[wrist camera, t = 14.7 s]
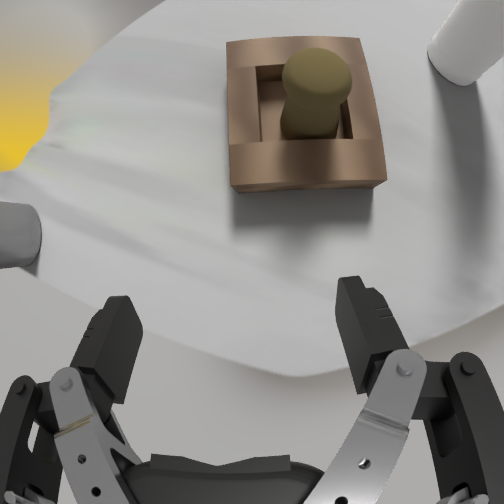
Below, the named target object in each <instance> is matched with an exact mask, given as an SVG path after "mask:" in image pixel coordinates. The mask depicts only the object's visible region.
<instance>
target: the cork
mask: <svg viewBox="0 0 504 504" xmlns="http://www.w3.org/2000/svg"><path fill="white" fill-rule="evenodd" d="M282 80H283V87H284V89H285V91H286V92H287V96H286V100H285V103H284V107H283V110H282V114H281V118H280V126H281V130H282V132H283V134H284V136H285V137H286V138H287V139H288V140H309V139H334V138H335V136H336V135H337V131H338V125H339V113H340V104H342V103H343V102H344V101H345V100H346V99H347V97H348V95H349V94H350V92H351V88H352V75H351V71H350V69H349V67H348V65H347V64H346V62H345V61H344V60H343V59H342V58H341V57H339V56H338V55H337V54H336V53H334V52H332V51H330V50H327V49H323V48H306V49H303V50H300V51H298V52H296V53H295V54H293V55H292V56H290V58H289V59H288V60H287V62H286V63H285V65H284V68H283V72H282Z"/></svg>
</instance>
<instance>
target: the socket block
mask: <svg viewBox="0 0 504 504" xmlns="http://www.w3.org/2000/svg"><path fill="white" fill-rule="evenodd" d="M306 48H323V49H327V50H330V51H332V52H334V53H336V54H337V55H338V56H339V57H341V58H342V59H343V60H344V61H345V62H346V64H347V65H348V67H349V69H350V71H351V75H352V88H351V92H350V94H349V95H348V97H347V99H346V100H345V101H344V102H343V103H342V104H340V113H339V125H338V131H337V135H336V136H335V138H334V139H309V140H288V139H287V138H286V137H285V136H284V134H283V132H282V130H281V126H280V118H281V114H282V110H283V107H284V103H285V100H286V96H287V92H286V91H285V89H284V87H283V80H282V72H283V68H284V65H285V63H286V62H287V60H288V59H289V58H290V56H292V55H293V54H295V53H296V52H298V51H300V50H303V49H306ZM226 52H227V96H228V129H229V157H230V182H231V186H232V187H233V188H234V189H235V190H236V191H237V192H238V193H246V192H261V191H278V190H299V189H327V188H374V187H376V186H378V185H379V184H381V183H383V182H385V181H386V180H387V171H386V163H385V156H384V149H383V142H382V135H381V129H380V124H379V118H378V113H377V108H376V103H375V98H374V93H373V89H372V84H371V80H370V76H369V72H368V68H367V64H366V60H365V56H364V53H363V49H362V46H361V42H360V39H359V38H350V37H330V36H293V37H272V38H259V39H249V40H240V41H232V42H226Z"/></svg>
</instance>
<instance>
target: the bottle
mask: <svg viewBox="0 0 504 504" xmlns="http://www.w3.org/2000/svg"><path fill="white" fill-rule="evenodd" d="M427 52H428V55H429V59H430V61H431V62H432V64H433V65H434V67H435V68H436V69H437V70H438V71H439V73H440V74H441V75H442V76H444V77H445V78H446V79H448V80H449V81H450V82H453V83H455V84H457V85H461V86H467V85H470V84H471V83H473V82H474V81H476V80H477V79H479V78H480V77H481V76H482V74H483V73H484V72H485V71H487V70H488V69H489V68H490V67H491V66H492V65H494V64H495V63H496V62H497V61H498V60H499V59H500V58H502V57H503V56H504V0H459V1H458V2H457V4H456V5H455V6H454V8H453V9H452V11H451V12H450V14H449V15H448V17H447V18H446V20H445V21H444V23H443V24H442V26H441V27H440V29H439V30H438V31H437V32H436V33H435V34H434V36H433V37H432V39H431V42H430V43H429V44H428V49H427Z"/></svg>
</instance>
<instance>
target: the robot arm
mask: <svg viewBox="0 0 504 504" xmlns="http://www.w3.org/2000/svg"><path fill="white" fill-rule="evenodd" d="M40 241H41V226H40V221H39V217H38V215H37V213H36V211H35V209H34V208H33V207H32V206H30V205H28V204H19V203H10V202H1V201H0V269H3V268H12V267H20V266H27V265H29V264H31V263H32V262H33V261H34V259H35V258H36V256H37V254H38V251H39V247H40ZM335 316H336V323H337V326H338V329H339V333H340V336H341V339H342V343H343V346H344V349H345V353H346V356H347V360H348V363H349V366H350V370H351V373H352V377H353V381H354V384H355V388H356V392H357V394H362V393H367V396H368V400H367V402H366V404H365V406H364V408H363V409H362V411H361V413H360V414H359V416H358V418H357V420H356V422H355V423H354V426H353V427H352V429H351V431H350V432H349V434H348V436H347V438H346V439H345V441H344V443H343V445H342V447H341V448H340V450H339V451H338V453H337V455H336V456H335V458H334V459H333V461H332V463H331V464H330V466H329V467H328V469H327V470H326V472H323V471H322V470H320V469H317V468H315V467H313V466H310V465H307V464H303V463H299V462H291V461H290V455H282V456H269V457H254V458H250V459H246V460H242V461H239V462H234V463H230V464H226V465H221V466H214V465H210V464H206V463H202V462H199V461H195V460H192V459H188V458H185V457H181V456H169V455H159V454H151V460H150V461H148V462H144V463H143V462H142V461H141V459H140V458H139V457H138V456H137V455H136V453H135V452H134V451H133V450H132V448H131V446H130V445H129V443H128V441H127V439H126V437H125V435H124V433H123V431H122V429H121V427H120V425H119V423H118V421H117V419H116V417H115V414H114V413H113V411H112V410H111V407H112V404H113V403H117V404H124V399H125V396H126V392H127V388H128V385H129V381H130V378H131V374H132V370H133V367H134V363H135V360H136V357H137V353H138V350H139V347H140V343H141V340H142V336H143V328H142V324H141V321H140V319H139V317H138V315H137V313H136V311H135V308H134V306H133V304H132V302H131V300H130V298H129V297H128V296H111V297H109V298H108V299H107V301H106V303H105V305H104V307H103V309H100V310H99V311H98V312H97V313H96V314H95V315H94V316H93V317H92V319H91V321H90V323H89V325H88V327H87V330H86V331H85V333H84V335H83V338H82V340H81V342H80V344H79V346H78V348H77V351H76V353H75V355H74V357H73V360H72V362H71V364H70V367H66V368H62V369H60V370H59V371H57V372H56V373H55V374H54V376H53V377H52V379H51V381H49V382H44V383H38V384H36V383H35V381H34V380H33V379H32V378H31V377H29V376H26V375H24V376H21V377H19V378H17V379H16V380H15V381H14V382H13V383H12V385H11V387H10V390H9V392H8V395H7V397H6V400H5V402H4V405H3V408H2V411H1V413H0V504H57V502H58V494H59V487H60V481H61V475H62V470H63V468H64V471H65V474H66V477H67V479H68V482H69V484H70V486H71V489H72V492H73V494H74V497H75V499H76V501H77V503H78V504H375V503H376V501H377V499H378V497H379V496H380V494H381V492H382V490H383V488H384V486H385V485H386V482H387V481H388V479H389V477H390V475H391V473H392V470H393V469H394V467H395V465H396V462H397V460H398V458H399V456H400V454H401V451H402V449H403V447H404V444H405V442H406V440H407V437H408V434H409V429H408V426H409V423H410V420H411V419H414V420H423V422H424V425H425V429H426V433H427V437H428V441H429V445H430V449H431V453H432V458H433V462H434V466H435V471H436V476H437V481H438V487H439V492H440V498H441V500H440V501H439V502H437V503H436V504H504V411H503V409H502V406H501V403H500V401H499V398H498V396H497V393H496V391H495V389H494V386H493V384H492V382H491V379H490V377H489V375H488V373H487V371H486V369H485V366H484V365H483V363H482V361H481V360H480V359H479V358H478V357H477V356H476V355H474V354H472V353H469V352H460V353H458V354H456V355H455V356H454V357H453V358H452V359H451V361H450V362H429V361H425V360H424V359H423V357H422V356H421V355H420V354H418V353H416V352H415V351H412V350H410V349H409V347H408V345H407V343H406V341H405V339H404V337H403V335H402V333H401V330H400V328H399V326H398V324H397V322H396V320H395V318H394V317H393V314H392V312H391V310H390V308H388V304H387V302H386V300H385V298H384V296H383V295H382V294H380V293H379V292H378V291H377V290H376V289H375V288H365V286H364V284H363V282H362V280H361V278H360V276H351V277H342V278H339V280H338V287H337V297H336V306H335ZM33 421H34V422H35V423H37V424H38V425H39V429H38V433H37V437H36V441H35V444H34V448H33V452H32V453H31V451H30V450H29V448H28V438H29V435H30V431H31V428H32V424H33Z"/></svg>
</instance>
